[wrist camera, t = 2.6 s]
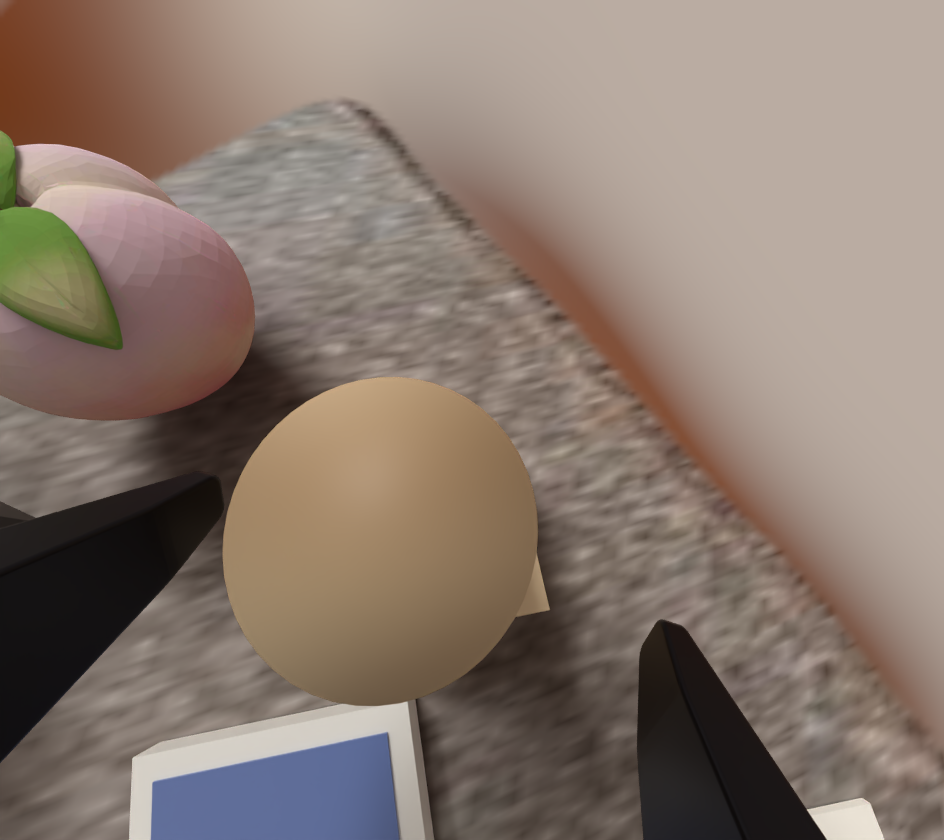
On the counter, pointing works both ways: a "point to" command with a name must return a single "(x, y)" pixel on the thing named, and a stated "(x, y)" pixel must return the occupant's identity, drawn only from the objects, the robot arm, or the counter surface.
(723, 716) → the robot arm
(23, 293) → the decorative fruit
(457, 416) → the stamp
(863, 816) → the card
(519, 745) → the counter surface
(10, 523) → the phone stand
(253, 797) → the ink pad
